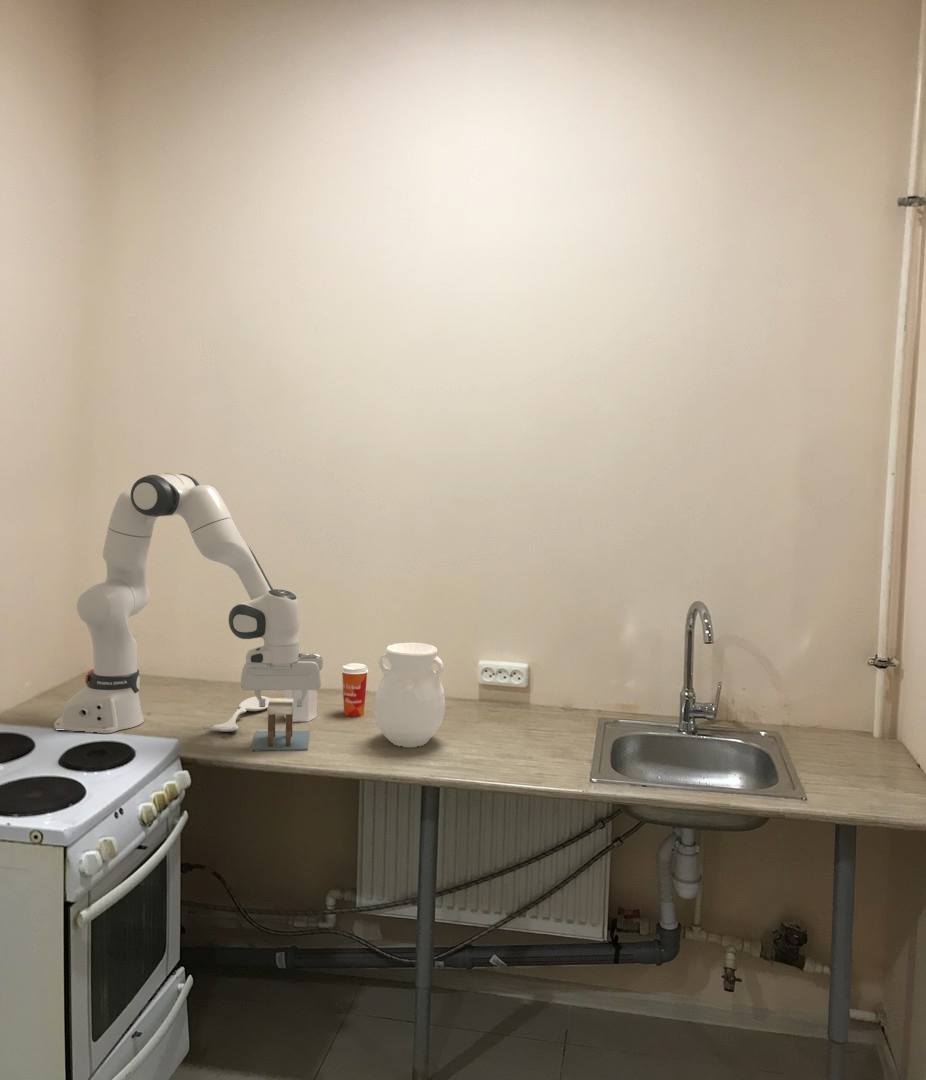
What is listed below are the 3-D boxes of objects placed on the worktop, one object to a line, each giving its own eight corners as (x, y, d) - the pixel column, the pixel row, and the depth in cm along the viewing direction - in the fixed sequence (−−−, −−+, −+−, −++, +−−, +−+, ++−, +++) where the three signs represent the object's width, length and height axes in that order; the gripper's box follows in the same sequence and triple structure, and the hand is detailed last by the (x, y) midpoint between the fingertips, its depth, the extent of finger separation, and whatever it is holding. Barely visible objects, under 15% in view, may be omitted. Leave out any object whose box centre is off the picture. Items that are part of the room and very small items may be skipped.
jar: (321, 719, 257) (322, 677, 256) (295, 724, 252) (296, 681, 251) (305, 711, 264) (305, 670, 263) (279, 716, 259) (280, 674, 257)
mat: (250, 751, 230) (250, 749, 230) (256, 733, 244) (256, 731, 244) (307, 750, 232) (307, 748, 232) (309, 732, 245) (309, 730, 245)
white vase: (452, 734, 247) (455, 643, 244) (432, 756, 230) (434, 658, 227) (387, 726, 252) (389, 637, 249) (362, 748, 235) (364, 652, 232)
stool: (269, 735, 241) (270, 698, 239) (293, 735, 241) (293, 698, 240) (267, 746, 232) (267, 708, 231) (291, 746, 232) (291, 708, 231)
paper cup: (335, 715, 261) (335, 667, 260) (350, 708, 268) (351, 661, 266) (357, 719, 258) (358, 671, 256) (373, 712, 264) (374, 665, 263)
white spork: (201, 737, 240) (201, 724, 239) (247, 703, 271) (247, 691, 271) (234, 740, 238) (234, 727, 238) (276, 705, 270) (276, 693, 270)
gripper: (323, 650, 238) (322, 702, 240) (242, 650, 236) (242, 703, 237) (322, 656, 232) (321, 709, 234) (239, 656, 230) (239, 710, 231)
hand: (281, 706), depth 236 cm, fingers open, 8 cm apart
